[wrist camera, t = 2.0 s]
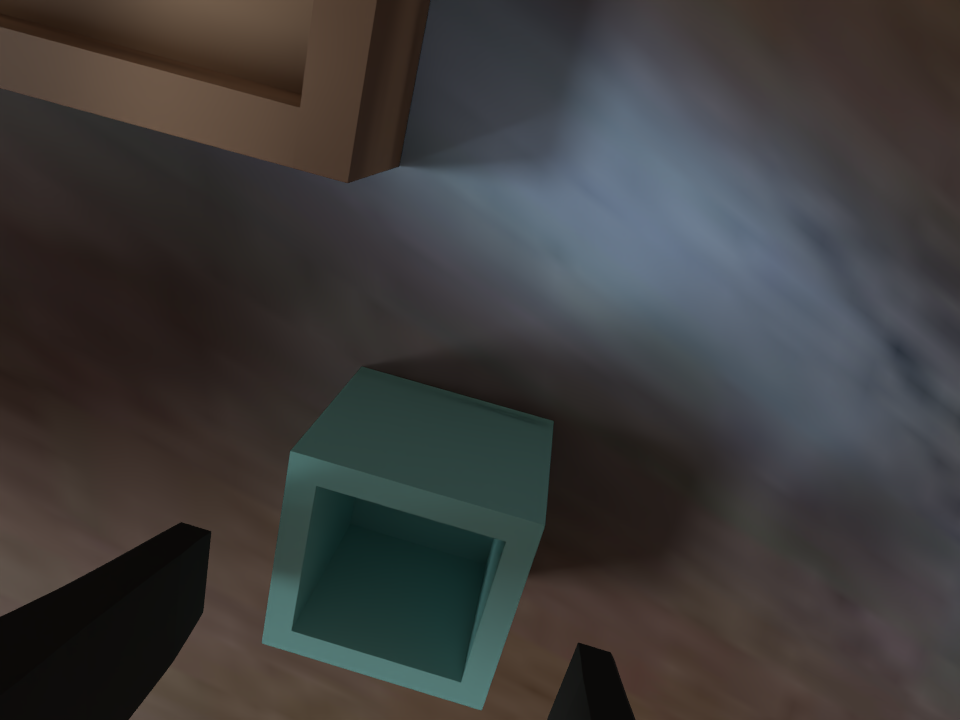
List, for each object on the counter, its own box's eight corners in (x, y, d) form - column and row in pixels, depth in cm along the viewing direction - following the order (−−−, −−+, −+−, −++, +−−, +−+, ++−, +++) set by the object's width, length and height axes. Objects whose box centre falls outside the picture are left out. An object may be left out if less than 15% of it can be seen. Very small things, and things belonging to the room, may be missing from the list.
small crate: (333, 522, 18) (261, 643, 14) (363, 364, 17) (290, 450, 12) (504, 573, 18) (481, 710, 14) (554, 418, 16) (544, 525, 12)
